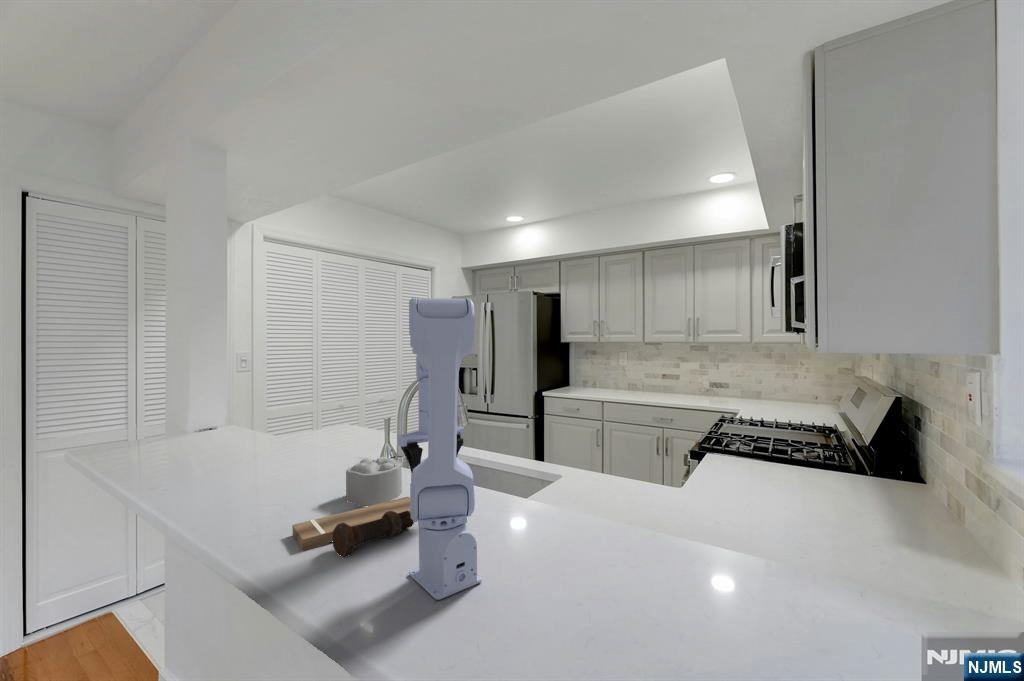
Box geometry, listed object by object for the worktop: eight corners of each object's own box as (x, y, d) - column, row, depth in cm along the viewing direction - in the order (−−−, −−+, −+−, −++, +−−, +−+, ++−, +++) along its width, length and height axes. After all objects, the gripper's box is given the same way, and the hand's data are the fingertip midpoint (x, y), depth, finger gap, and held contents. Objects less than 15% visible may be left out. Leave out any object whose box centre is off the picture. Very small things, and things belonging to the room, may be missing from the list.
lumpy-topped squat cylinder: (340, 500, 103) (340, 463, 103) (384, 484, 114) (383, 451, 114) (369, 509, 98) (368, 470, 98) (412, 492, 109) (412, 457, 109)
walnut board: (424, 516, 93) (424, 506, 93) (303, 550, 78) (302, 538, 78) (408, 505, 100) (407, 496, 100) (292, 535, 85) (292, 524, 85)
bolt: (412, 538, 88) (340, 564, 76) (400, 519, 90) (329, 542, 79) (421, 516, 86) (349, 540, 74) (408, 498, 89) (337, 518, 77)
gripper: (452, 404, 99) (453, 464, 99) (391, 411, 90) (391, 477, 90) (470, 408, 93) (470, 472, 93) (406, 416, 84) (407, 486, 84)
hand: (433, 475), depth 91 cm, fingers open, 7 cm apart
